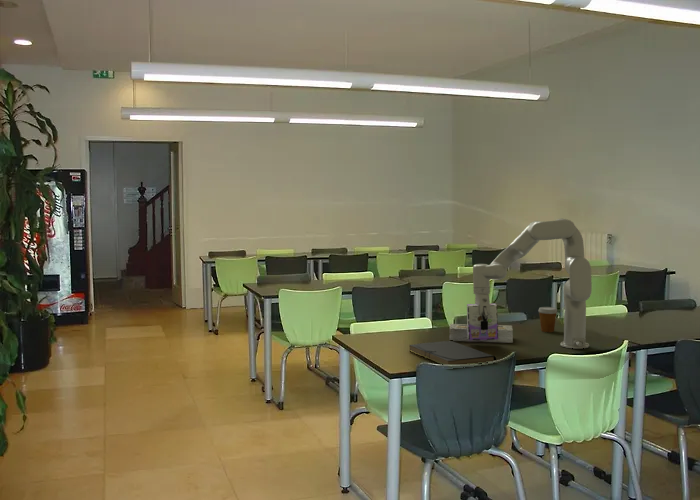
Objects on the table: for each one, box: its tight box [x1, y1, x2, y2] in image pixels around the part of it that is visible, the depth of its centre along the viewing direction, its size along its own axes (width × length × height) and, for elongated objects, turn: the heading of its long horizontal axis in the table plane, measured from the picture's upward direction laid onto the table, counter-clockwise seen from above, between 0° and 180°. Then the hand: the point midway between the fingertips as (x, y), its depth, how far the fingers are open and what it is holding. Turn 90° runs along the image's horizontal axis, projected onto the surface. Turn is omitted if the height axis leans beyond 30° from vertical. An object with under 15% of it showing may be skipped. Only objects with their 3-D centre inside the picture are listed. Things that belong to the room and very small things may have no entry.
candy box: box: [466, 302, 499, 340], centre depth 315 cm, size 14×6×16 cm, turn 85°
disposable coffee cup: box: [537, 306, 558, 333], centre depth 346 cm, size 10×10×12 cm
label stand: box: [448, 323, 514, 344], centre depth 329 cm, size 30×12×6 cm, turn 79°
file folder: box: [409, 340, 497, 364], centre depth 294 cm, size 33×4×24 cm
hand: (482, 327), depth 315 cm, fingers closed on candy box, 6 cm apart
